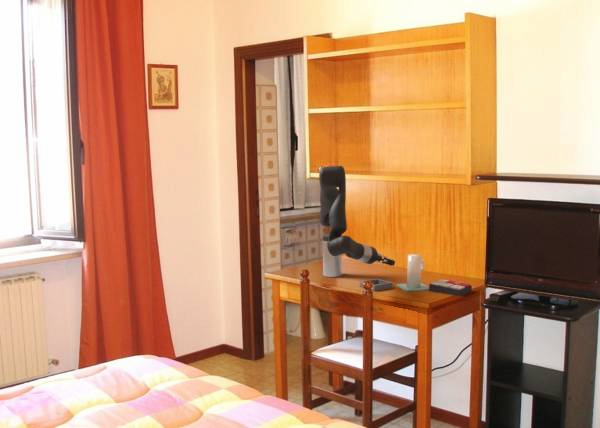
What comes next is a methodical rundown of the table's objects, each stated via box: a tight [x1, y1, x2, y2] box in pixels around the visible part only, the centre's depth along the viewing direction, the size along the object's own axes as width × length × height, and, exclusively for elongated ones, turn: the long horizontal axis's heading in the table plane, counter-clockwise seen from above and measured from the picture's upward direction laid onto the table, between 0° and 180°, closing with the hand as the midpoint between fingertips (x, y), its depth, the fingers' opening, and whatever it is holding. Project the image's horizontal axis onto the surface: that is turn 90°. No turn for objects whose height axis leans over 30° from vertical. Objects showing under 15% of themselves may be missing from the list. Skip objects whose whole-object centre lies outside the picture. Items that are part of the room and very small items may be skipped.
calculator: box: [428, 278, 473, 297], centre depth 299 cm, size 11×4×15 cm
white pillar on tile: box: [406, 253, 425, 288], centre depth 306 cm, size 8×6×14 cm
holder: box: [359, 278, 394, 292], centre depth 308 cm, size 10×10×2 cm
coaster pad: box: [395, 282, 429, 292], centre depth 307 cm, size 12×12×1 cm
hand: (386, 260), depth 303 cm, fingers open, 8 cm apart
